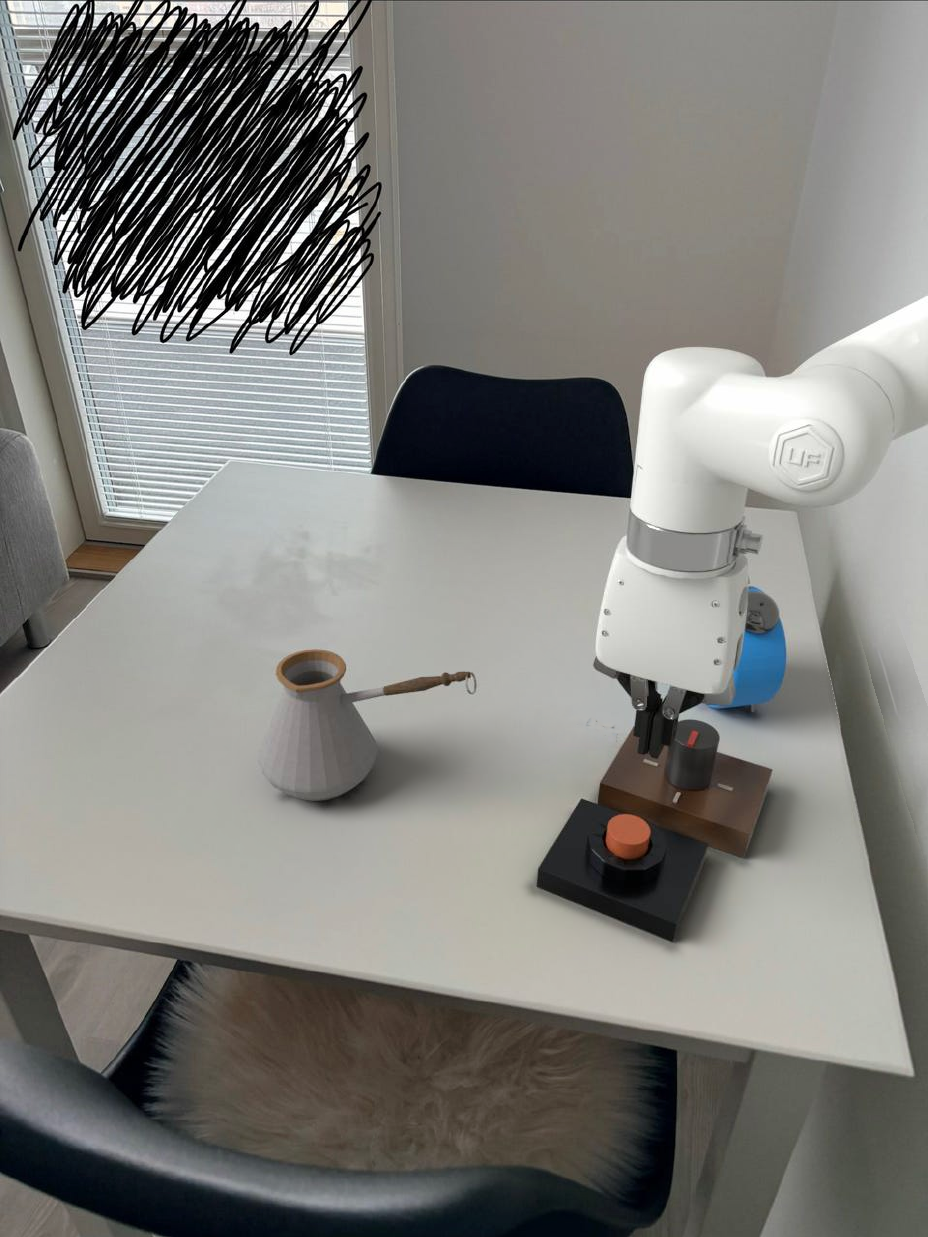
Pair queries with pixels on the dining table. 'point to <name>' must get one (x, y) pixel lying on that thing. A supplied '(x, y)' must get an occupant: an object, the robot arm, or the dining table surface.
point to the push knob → (627, 836)
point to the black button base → (623, 872)
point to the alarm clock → (759, 653)
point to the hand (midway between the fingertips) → (653, 746)
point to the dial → (692, 755)
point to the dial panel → (688, 797)
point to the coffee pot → (325, 726)
